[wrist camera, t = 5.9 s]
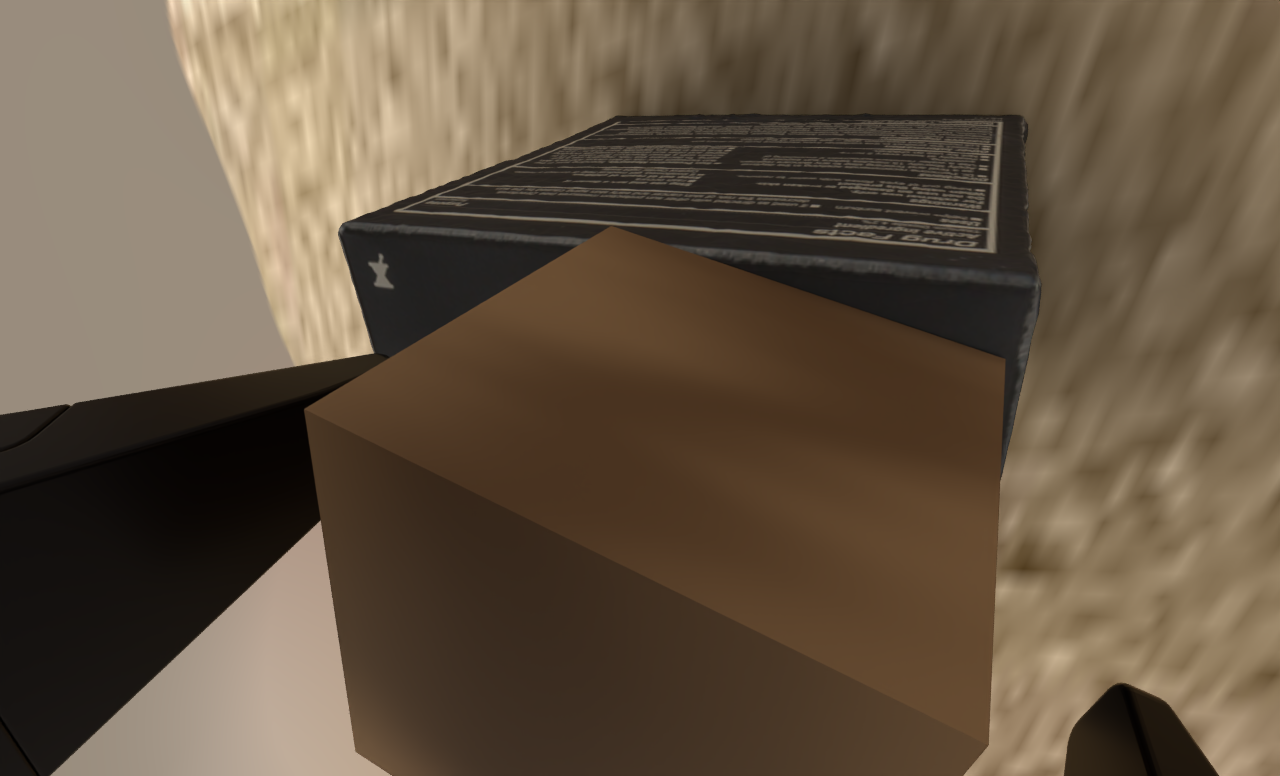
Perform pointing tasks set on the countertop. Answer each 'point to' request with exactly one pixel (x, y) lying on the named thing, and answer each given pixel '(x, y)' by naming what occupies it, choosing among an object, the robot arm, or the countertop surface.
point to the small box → (738, 221)
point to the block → (665, 531)
